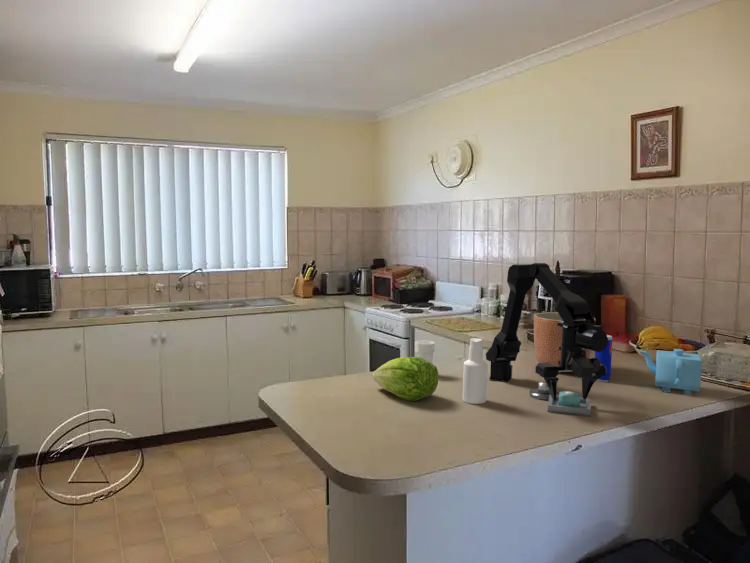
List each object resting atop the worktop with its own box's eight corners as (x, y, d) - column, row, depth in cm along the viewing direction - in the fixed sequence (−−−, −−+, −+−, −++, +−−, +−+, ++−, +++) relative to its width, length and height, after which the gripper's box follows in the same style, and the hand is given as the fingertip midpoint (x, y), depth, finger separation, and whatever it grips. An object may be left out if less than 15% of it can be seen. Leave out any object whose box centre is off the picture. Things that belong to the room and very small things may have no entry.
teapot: (696, 386, 190) (699, 347, 189) (700, 398, 176) (703, 356, 175) (635, 379, 198) (637, 341, 196) (634, 390, 184) (637, 350, 182)
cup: (411, 375, 197) (412, 343, 196) (417, 371, 203) (418, 339, 202) (430, 377, 195) (431, 345, 194) (436, 373, 201) (437, 341, 200)
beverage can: (611, 382, 193) (614, 337, 191) (594, 381, 194) (597, 336, 192) (608, 378, 198) (611, 334, 196) (592, 377, 199) (594, 333, 197)
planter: (568, 360, 223) (570, 311, 222) (605, 374, 204) (608, 320, 202) (520, 364, 217) (522, 313, 215) (554, 378, 197) (557, 322, 195)
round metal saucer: (528, 398, 173) (528, 385, 173) (530, 390, 182) (531, 377, 181) (560, 401, 170) (560, 388, 170) (560, 393, 179) (561, 380, 178)
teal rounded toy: (554, 403, 166) (555, 390, 166) (573, 402, 167) (573, 389, 167) (566, 410, 160) (567, 396, 159) (585, 410, 161) (586, 396, 161)
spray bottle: (487, 398, 172) (490, 338, 170) (484, 405, 165) (486, 342, 164) (464, 396, 174) (466, 336, 172) (460, 402, 168) (462, 340, 166)
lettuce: (393, 364, 188) (367, 346, 180) (450, 368, 173) (425, 349, 165) (381, 402, 183) (354, 386, 175) (439, 410, 168) (412, 392, 160)
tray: (547, 411, 161) (547, 405, 161) (549, 400, 171) (549, 394, 171) (590, 416, 157) (590, 410, 157) (589, 405, 168) (589, 398, 167)
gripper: (555, 351, 153) (552, 410, 154) (620, 350, 156) (616, 407, 158) (535, 343, 164) (533, 397, 165) (596, 341, 167) (593, 395, 169)
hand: (569, 399), depth 164 cm, fingers open, 9 cm apart
